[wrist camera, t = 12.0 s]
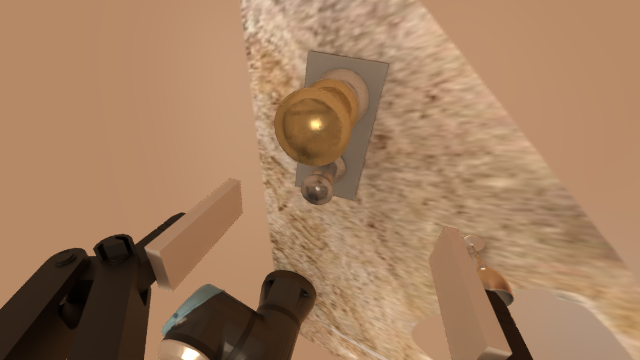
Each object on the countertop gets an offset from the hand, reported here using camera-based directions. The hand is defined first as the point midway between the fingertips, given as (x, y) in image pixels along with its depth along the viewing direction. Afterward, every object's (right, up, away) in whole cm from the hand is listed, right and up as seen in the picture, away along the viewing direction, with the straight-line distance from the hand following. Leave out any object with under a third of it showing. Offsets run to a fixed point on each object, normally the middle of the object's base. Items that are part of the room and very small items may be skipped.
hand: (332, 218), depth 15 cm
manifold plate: (+2, +11, +26) cm, 28 cm away
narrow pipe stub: (+1, +5, +28) cm, 28 cm away
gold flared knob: (0, +11, +15) cm, 19 cm away
